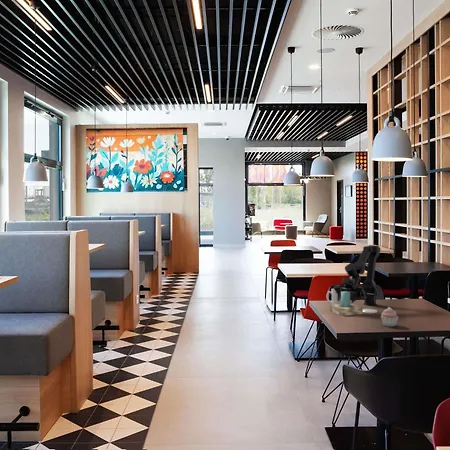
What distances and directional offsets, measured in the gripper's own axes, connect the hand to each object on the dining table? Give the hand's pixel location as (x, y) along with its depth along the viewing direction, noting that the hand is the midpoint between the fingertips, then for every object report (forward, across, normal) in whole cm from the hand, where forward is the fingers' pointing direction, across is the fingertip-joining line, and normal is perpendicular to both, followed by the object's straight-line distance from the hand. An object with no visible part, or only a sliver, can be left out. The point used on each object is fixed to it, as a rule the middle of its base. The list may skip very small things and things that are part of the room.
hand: (344, 301), depth 294 cm
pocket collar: (+4, 0, +6) cm, 7 cm away
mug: (-3, -14, +13) cm, 19 cm away
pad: (-4, +10, +13) cm, 17 cm away
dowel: (+4, 0, +6) cm, 7 cm away
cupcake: (+17, +35, -7) cm, 39 cm away
